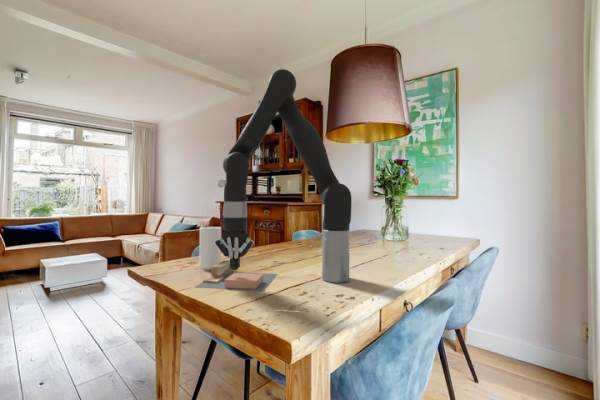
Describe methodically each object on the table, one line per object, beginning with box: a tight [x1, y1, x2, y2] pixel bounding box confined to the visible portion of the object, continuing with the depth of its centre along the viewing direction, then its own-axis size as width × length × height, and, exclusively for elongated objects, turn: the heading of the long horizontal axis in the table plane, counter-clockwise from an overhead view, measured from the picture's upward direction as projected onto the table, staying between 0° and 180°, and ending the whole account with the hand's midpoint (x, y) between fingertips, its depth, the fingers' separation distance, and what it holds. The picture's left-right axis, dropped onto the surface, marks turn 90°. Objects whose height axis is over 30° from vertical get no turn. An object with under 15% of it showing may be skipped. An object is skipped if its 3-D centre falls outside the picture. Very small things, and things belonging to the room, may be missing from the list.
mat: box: [194, 271, 278, 292], centre depth 94 cm, size 22×19×1 cm
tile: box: [225, 272, 263, 289], centre depth 89 cm, size 2×8×10 cm
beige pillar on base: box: [202, 260, 233, 283], centre depth 98 cm, size 5×14×4 cm, turn 172°
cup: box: [198, 226, 222, 270], centre depth 112 cm, size 8×8×16 cm
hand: (234, 269), depth 90 cm, fingers closed
